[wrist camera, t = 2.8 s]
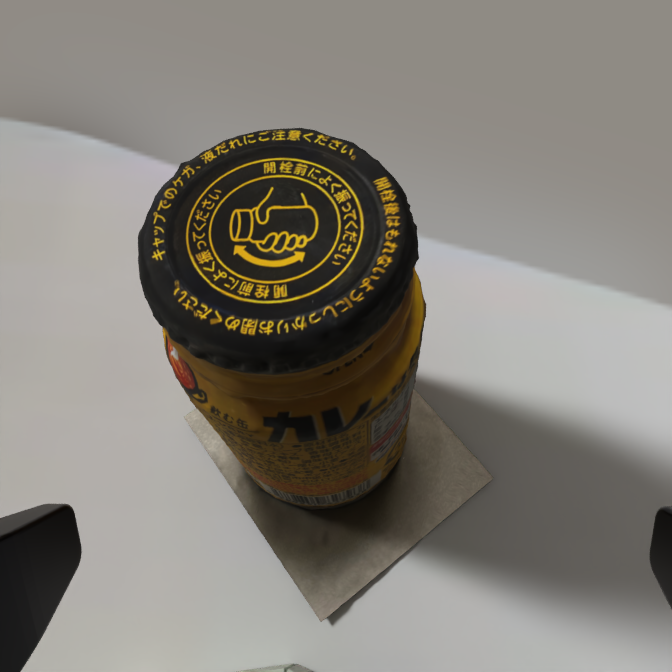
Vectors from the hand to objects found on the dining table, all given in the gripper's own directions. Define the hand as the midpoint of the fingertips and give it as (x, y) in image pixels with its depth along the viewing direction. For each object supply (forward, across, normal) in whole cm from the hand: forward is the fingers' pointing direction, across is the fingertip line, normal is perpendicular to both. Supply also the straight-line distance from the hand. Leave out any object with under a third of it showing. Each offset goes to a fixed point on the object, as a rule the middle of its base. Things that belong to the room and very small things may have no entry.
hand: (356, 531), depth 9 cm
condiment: (+11, -1, -5) cm, 12 cm away
